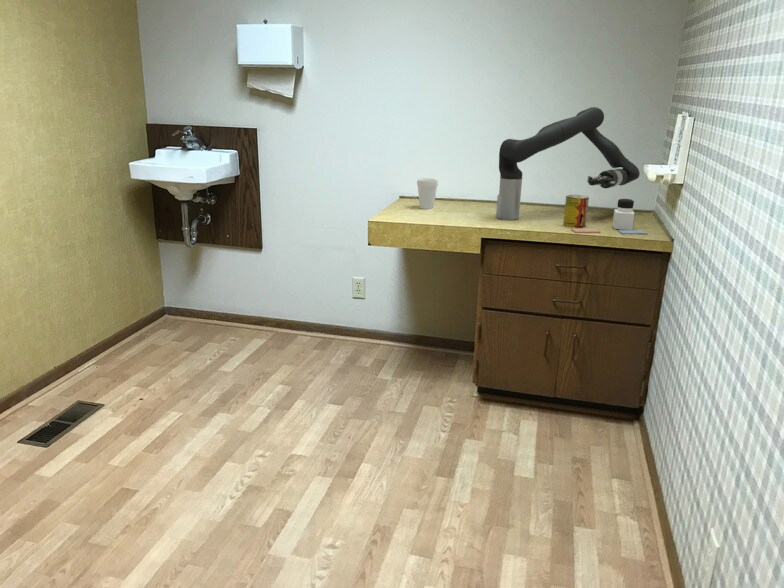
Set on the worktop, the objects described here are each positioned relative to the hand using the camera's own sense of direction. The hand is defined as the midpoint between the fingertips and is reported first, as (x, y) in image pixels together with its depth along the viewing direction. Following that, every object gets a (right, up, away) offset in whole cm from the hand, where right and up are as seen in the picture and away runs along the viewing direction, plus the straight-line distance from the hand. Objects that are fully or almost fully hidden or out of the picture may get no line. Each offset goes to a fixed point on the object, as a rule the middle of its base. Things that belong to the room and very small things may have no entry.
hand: (591, 182), depth 268 cm
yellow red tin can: (-8, -18, -2) cm, 20 cm away
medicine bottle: (+11, -20, -6) cm, 23 cm away
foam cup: (-67, -7, +29) cm, 74 cm away
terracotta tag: (-6, -22, -13) cm, 26 cm away
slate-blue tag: (+12, -22, -14) cm, 29 cm away
